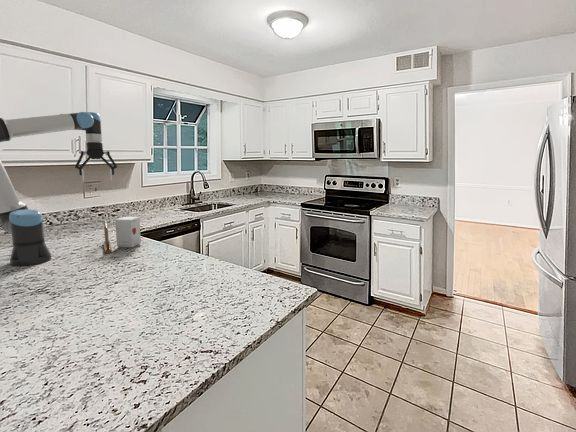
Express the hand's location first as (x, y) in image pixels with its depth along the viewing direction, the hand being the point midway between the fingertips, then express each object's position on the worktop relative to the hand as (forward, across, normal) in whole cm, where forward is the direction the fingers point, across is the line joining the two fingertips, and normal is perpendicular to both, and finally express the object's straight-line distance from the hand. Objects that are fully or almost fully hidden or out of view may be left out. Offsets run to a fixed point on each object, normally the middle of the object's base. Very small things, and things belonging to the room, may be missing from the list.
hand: (97, 181), depth 187 cm
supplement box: (+34, -12, +18) cm, 41 cm away
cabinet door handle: (+35, -2, +17) cm, 39 cm away
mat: (+35, -12, +17) cm, 40 cm away
